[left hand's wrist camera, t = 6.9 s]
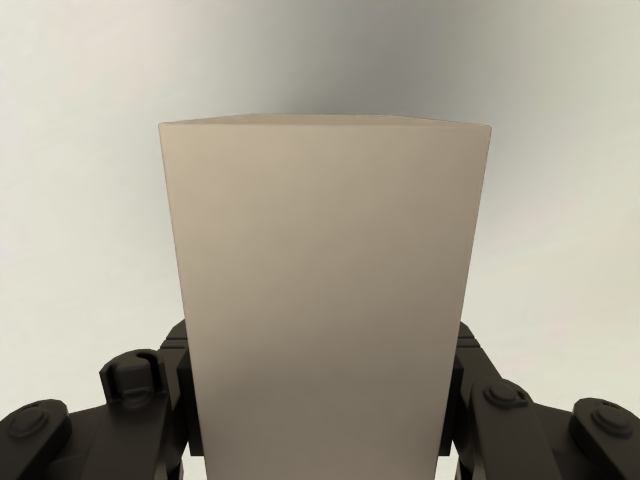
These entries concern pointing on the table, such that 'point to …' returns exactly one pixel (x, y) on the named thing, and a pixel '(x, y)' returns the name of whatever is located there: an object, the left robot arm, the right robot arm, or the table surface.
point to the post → (322, 286)
